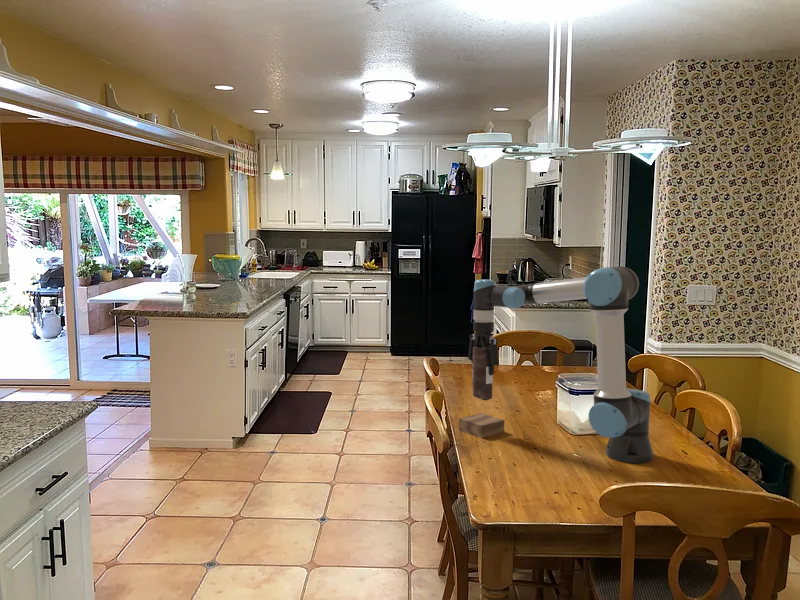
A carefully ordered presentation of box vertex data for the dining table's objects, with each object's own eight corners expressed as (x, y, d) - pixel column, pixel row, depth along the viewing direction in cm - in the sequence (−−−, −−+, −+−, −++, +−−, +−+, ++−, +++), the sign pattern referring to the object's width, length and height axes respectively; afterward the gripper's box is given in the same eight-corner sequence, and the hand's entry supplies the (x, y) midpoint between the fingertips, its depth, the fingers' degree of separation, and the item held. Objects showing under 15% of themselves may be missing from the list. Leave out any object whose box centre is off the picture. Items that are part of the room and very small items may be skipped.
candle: (469, 399, 244) (470, 346, 242) (476, 394, 251) (477, 343, 249) (488, 401, 241) (489, 348, 239) (495, 397, 247) (496, 345, 245)
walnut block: (504, 433, 246) (504, 420, 246) (481, 439, 239) (481, 425, 238) (481, 425, 256) (481, 413, 255) (459, 431, 248) (459, 418, 248)
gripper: (509, 323, 236) (508, 385, 239) (474, 317, 253) (473, 375, 256) (493, 325, 232) (492, 387, 235) (459, 318, 249) (458, 377, 252)
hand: (482, 381), depth 245 cm, fingers closed on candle, 7 cm apart
